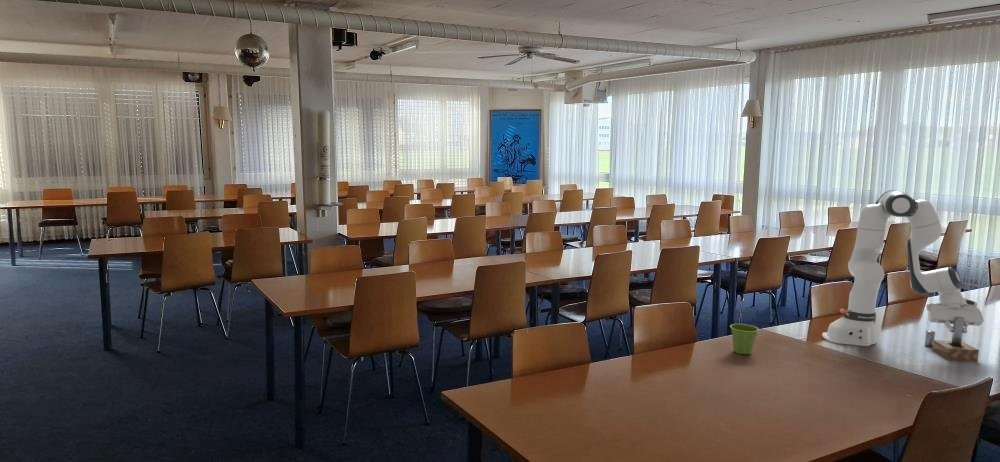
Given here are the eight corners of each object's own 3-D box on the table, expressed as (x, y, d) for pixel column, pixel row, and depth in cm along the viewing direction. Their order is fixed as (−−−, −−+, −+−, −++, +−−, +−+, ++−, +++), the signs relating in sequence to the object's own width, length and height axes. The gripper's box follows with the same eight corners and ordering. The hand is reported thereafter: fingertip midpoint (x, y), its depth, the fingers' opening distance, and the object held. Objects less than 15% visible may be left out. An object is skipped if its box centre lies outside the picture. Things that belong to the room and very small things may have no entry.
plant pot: (759, 357, 280) (761, 332, 278) (730, 355, 282) (732, 330, 280) (754, 349, 291) (756, 324, 290) (726, 347, 294) (728, 322, 292)
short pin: (926, 347, 298) (928, 332, 297) (923, 344, 301) (924, 330, 300) (935, 347, 298) (936, 332, 297) (931, 345, 301) (932, 330, 300)
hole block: (947, 359, 281) (948, 348, 280) (932, 350, 293) (933, 340, 292) (977, 361, 280) (979, 350, 279) (961, 352, 291) (962, 341, 291)
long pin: (953, 349, 284) (957, 318, 282) (949, 347, 288) (952, 316, 286) (962, 350, 284) (966, 318, 282) (957, 347, 287) (961, 316, 285)
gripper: (927, 298, 292) (933, 326, 284) (981, 302, 287) (988, 330, 279) (923, 306, 297) (928, 333, 289) (975, 309, 292) (982, 337, 284)
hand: (958, 331), depth 284 cm, fingers closed on long pin, 3 cm apart
